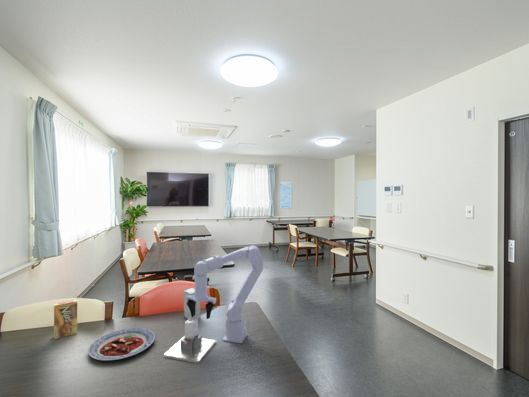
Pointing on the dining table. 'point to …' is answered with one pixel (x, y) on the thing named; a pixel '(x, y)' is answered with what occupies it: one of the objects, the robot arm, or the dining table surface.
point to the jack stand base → (190, 349)
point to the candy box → (65, 319)
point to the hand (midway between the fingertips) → (200, 317)
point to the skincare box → (186, 308)
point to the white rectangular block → (191, 329)
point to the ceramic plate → (121, 344)
